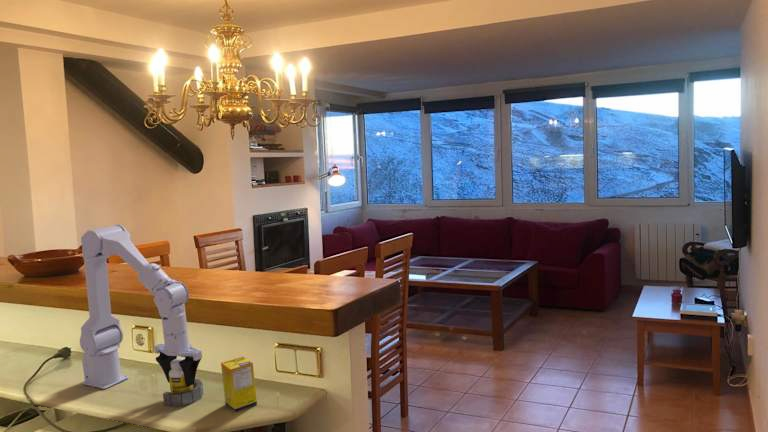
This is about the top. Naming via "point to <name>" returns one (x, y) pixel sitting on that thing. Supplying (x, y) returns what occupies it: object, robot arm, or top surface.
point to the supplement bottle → (177, 378)
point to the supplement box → (239, 383)
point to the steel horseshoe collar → (184, 395)
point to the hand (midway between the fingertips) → (181, 383)
